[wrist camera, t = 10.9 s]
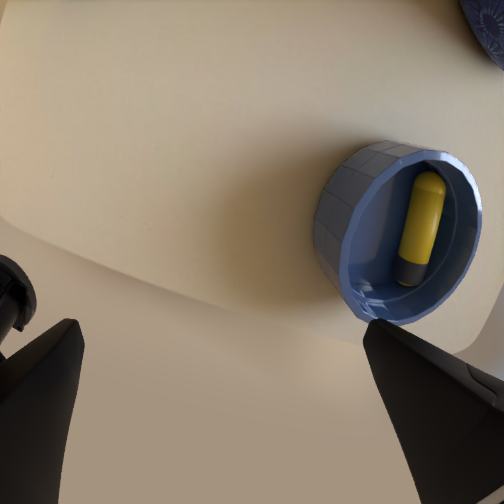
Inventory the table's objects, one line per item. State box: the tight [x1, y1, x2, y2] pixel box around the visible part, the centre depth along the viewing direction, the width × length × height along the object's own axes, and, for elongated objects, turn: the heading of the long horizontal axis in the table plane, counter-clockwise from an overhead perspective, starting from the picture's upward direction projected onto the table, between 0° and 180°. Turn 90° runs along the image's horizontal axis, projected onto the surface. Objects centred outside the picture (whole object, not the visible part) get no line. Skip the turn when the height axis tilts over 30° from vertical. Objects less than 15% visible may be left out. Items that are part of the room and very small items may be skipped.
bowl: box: [313, 141, 482, 326], centre depth 18 cm, size 12×12×5 cm
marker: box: [392, 171, 446, 286], centre depth 19 cm, size 9×3×3 cm
